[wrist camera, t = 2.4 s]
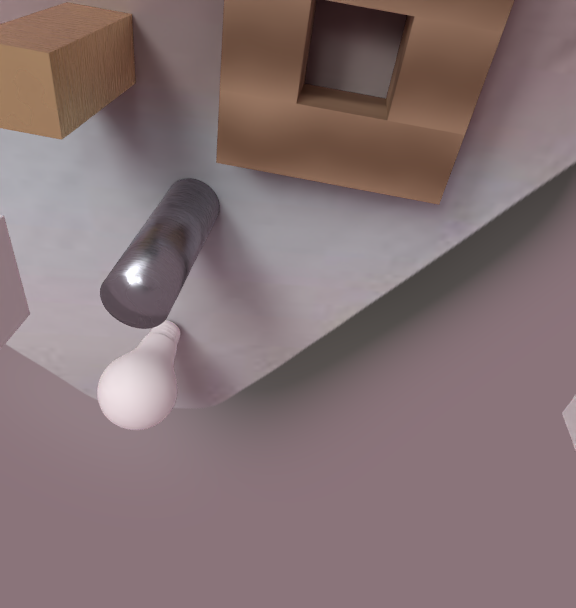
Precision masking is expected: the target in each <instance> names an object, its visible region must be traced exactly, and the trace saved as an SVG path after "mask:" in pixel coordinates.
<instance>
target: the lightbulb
mask: <svg viewBox="0 0 576 608" xmlns="http://www.w3.org/2000/svg"><path fill="white" fill-rule="evenodd" d="M179 338H180V330H179V328H178V326H177V325H176V324H174V323H173V322H170V321H167V320H165V321H164V322H163V323H162V324H160V325H159V326H157V327H154V328H152V329H151V331H150V332H149V334H148V335H146V336H145V337H144V338H143V340H142V341H141V343H140V344H139V345H138V346H137V347H136V348H135V349H134V350H132V351H131V352H129V353H126V354H124V355H123V356H121V357H119V358H117V359H116V360H114V361H113V362H112V363H111V364H110V365H109V366H108V367H107V368H106V369H105V370H104V372H103V374H102V376H101V377H100V380H99V384H98V391H97V396H98V402H99V405H100V407H101V410H102V412H103V413H104V415H105V416H106V417H107V418H108V419H109V420H110V421H111V422H113V423H114V424H115V425H117V426H119V427H122V428H125V429H129V430H143V429H147V428H150V427H152V426H154V425H156V424H158V423H160V422H161V421H162V420H164V419H165V417H167V415H168V414H169V413H170V411H171V410H172V409H173V407H174V404H175V402H176V399H177V391H178V386H177V380H176V375H175V372H174V359H175V356H176V353H177V344H178V341H179Z"/></svg>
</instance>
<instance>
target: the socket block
mask: <svg viewBox="0 0 576 608" xmlns="http://www.w3.org/2000/svg"><path fill="white" fill-rule="evenodd" d="M316 1H317V0H224V13H223V34H222V55H221V76H220V97H219V117H218V138H217V159H216V163H221V164H227V165H232V166H237V167H243V168H248V169H253V170H258V171H264V172H269V173H274V174H280V175H285V176H290V177H296V178H301V179H306V180H311V181H317V182H322V183H327V184H333V185H338V186H343V187H349V188H354V189H359V190H364V191H370V192H375V193H380V194H386V195H391V196H396V197H402V198H407V199H412V200H417V201H423V202H428V203H433V204H440V201H441V198H442V195H443V193H444V190H445V187H446V185H447V182H448V179H449V176H450V174H451V171H452V168H453V166H454V163H455V160H456V157H457V155H458V152H459V149H460V147H461V144H462V141H463V138H464V136H465V133H466V130H467V128H468V125H469V122H470V119H471V117H472V114H473V111H474V109H475V106H476V103H477V100H478V98H479V95H480V92H481V90H482V87H483V84H484V82H485V79H486V76H487V73H488V71H489V68H490V65H491V63H492V60H493V57H494V54H495V52H496V49H497V46H498V44H499V41H500V38H501V35H502V33H503V30H504V27H505V25H506V22H507V19H508V16H509V14H510V11H511V8H512V6H513V3H514V0H327V1H333V2H338V3H344V4H349V5H355V6H360V7H366V8H371V9H377V10H382V11H388V12H393V13H399V14H404V15H407V19H406V23H405V27H404V31H403V34H402V38H401V42H400V46H399V50H398V54H397V58H396V62H395V66H394V70H393V74H392V78H391V82H390V85H389V89H388V93H387V97H386V99H385V98H380V97H374V96H369V95H363V94H358V93H353V92H347V91H342V90H336V89H331V88H326V87H320V86H315V85H309V84H304V81H305V74H306V68H307V61H308V54H309V48H310V41H311V34H312V28H313V21H314V14H315V8H316Z"/></svg>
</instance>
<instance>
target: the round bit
mask: <svg viewBox="0 0 576 608" xmlns="http://www.w3.org/2000/svg"><path fill="white" fill-rule="evenodd" d="M219 209H220V205H219V200H218V198H217V196H216V194H215V192H214V191H213V190H212V189H211V188H210V187H209V186H208V185H207V184H205V183H203V182H201V181H199V180H196V179H182V180H179V181H177V182H176V183H174V184H173V185H172V186H171V188H170V189H169V190H168V192H167V193H166V195H165V196H164V197H163V199H162V200H161V202H160V203H159V205H158V206H157V207H156V209H155V210H154V212H153V213H152V214H151V216H150V217H149V219H148V220H147V221H146V223H145V224H144V226H143V227H142V228H141V230H140V231H139V233H138V234H137V235H136V237H135V238H134V240H133V241H132V242H131V244H130V245H129V247H128V248H127V250H126V251H125V252H124V254H123V255H122V257H121V258H120V259H119V261H118V262H117V264H116V265H115V266H114V268H113V269H112V271H111V272H110V273H109V275H108V276H107V278H106V279H105V280H104V282H103V284H102V285H101V288H100V297H101V300H102V303H103V305H104V307H105V308H106V310H107V311H108V312H109V313H110V314H111V315H112V316H113V317H114V318H116V319H117V320H119V321H120V322H122V323H124V324H126V325H129V326H131V327H135V328H142V329H147V328H154V327H157V326H159V325H160V324H162V323H163V322H164V321H165V320H166V318H167V316H168V314H169V312H170V310H171V308H172V306H173V304H174V302H175V300H176V298H177V296H178V294H179V292H180V290H181V288H182V286H183V284H184V282H185V280H186V278H187V276H188V274H189V272H190V270H191V268H192V266H193V264H194V262H195V260H196V258H197V256H198V254H199V252H200V250H201V248H202V246H203V244H204V242H205V240H206V238H207V236H208V234H209V232H210V230H211V228H212V226H213V224H214V222H215V220H216V218H217V216H218V214H219Z"/></svg>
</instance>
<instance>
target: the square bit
mask: <svg viewBox="0 0 576 608" xmlns="http://www.w3.org/2000/svg"><path fill="white" fill-rule="evenodd" d="M135 83H136V82H135V63H134V45H133V27H132V14H128V13H123V12H117V11H112V10H106V9H101V8H96V7H90V6H85V5H79V4H74V3H68V2H66V3H63V4H60V5H57V6H54V7H51V8H48V9H45V10H42V11H39V12H36V13H33V14H30V15H27V16H24V17H21V18H18V19H15V20H12V21H9V22H6V23H3V24H0V128H3V129H9V130H14V131H19V132H25V133H30V134H35V135H40V136H46V137H51V138H56V139H63V138H65V137H66V136H67V135H69V134H70V133H71V132H72V131H74V130H75V129H76V128H78V127H79V126H80V125H82V124H83V123H84V122H86V121H87V120H88V119H89V118H91V117H92V116H93V115H95V114H96V113H97V112H99V111H100V110H101V109H103V108H104V107H105V106H106V105H108V104H109V103H110V102H112V101H113V100H114V99H116V98H117V97H118V96H120V95H121V94H122V93H123V92H125V91H126V90H127V89H129V88H130V87H131V86H133V85H134V84H135Z"/></svg>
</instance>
